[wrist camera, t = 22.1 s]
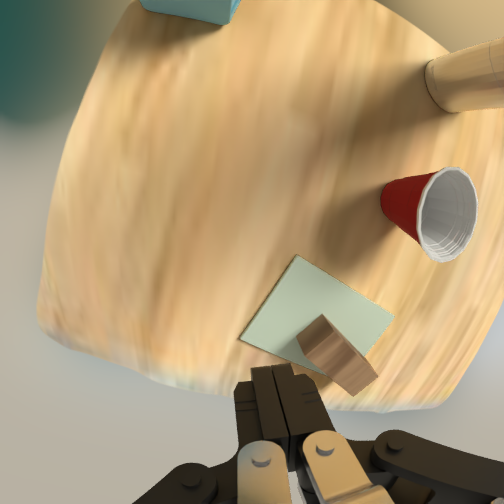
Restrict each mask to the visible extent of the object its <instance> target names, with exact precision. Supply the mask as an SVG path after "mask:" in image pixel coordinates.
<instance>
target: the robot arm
mask: <svg viewBox="0 0 504 504" xmlns="http://www.w3.org/2000/svg"><path fill="white" fill-rule="evenodd" d="M425 80H426V85H427V88H428V90H429V93H430V94H431V96H432V98H433V99H434V101H435V102H436V103H437V104H438V106H439V107H441V108H442V109H443V110H445V111H447V112H451V113H454V112H463V111H473V110H483V109H495V108H504V37H502V38H498V39H495V40H491V41H488V42H485V43H481V44H478V45H475V46H472V47H468V48H465V49H462V50H459V51H456V52H453V53H450V54H447V55H444V56H442V57H439V58H436V59H433V60H431V61H430V62H429V63H428V64H427V66H426V69H425ZM234 401H235V411H236V421H237V432H238V442H239V447H238V451H237V452H236V454H235V455H234V456H233V458H231V459H230V460H229V461H227V462H225V463H222V464H220V465H217V466H213V467H210V468H208V467H207V466H204V465H202V464H199V463H185V464H182V465H179V466H177V467H176V468H174V469H173V470H172V471H171V472H170V473H168V474H167V475H166V476H165V477H164V478H163V479H162V480H161V481H159V482H158V483H157V484H156V485H155V486H153V487H152V488H151V489H150V490H148V491H147V492H146V493H145V494H144V495H142V496H141V497H140V498H139V499H137V500H136V501H135V502H134V503H132V504H292V500H291V493H290V487H289V480H288V473H287V469H288V472H292V471H296V473H297V477H298V490H299V493H300V496H301V498H302V501H303V504H504V462H500V461H496V460H492V459H488V458H484V457H481V456H477V455H473V454H470V453H466V452H463V451H460V450H457V449H453V448H450V447H447V446H444V445H441V444H438V443H435V442H432V441H429V440H426V439H423V438H421V437H418V436H415V435H413V434H410V433H407V432H405V431H401V430H388V431H385V432H383V433H381V434H380V435H379V436H378V437H377V438H376V440H375V441H354V440H349V439H346V438H344V437H343V436H342V435H341V434H339V433H337V432H336V431H335V429H334V427H333V425H332V422H331V420H330V418H329V415H328V413H327V411H326V408H325V406H324V404H323V401H322V400H321V397H320V394H319V393H318V390H317V388H316V385H315V383H314V381H313V380H312V379H310V378H309V377H308V376H307V375H306V374H300V375H294V372H293V370H292V367H291V364H290V363H286V364H279V365H271V367H270V366H263V367H254V368H251V381H245V382H238V384H237V386H236V388H235V390H234Z"/></svg>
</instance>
